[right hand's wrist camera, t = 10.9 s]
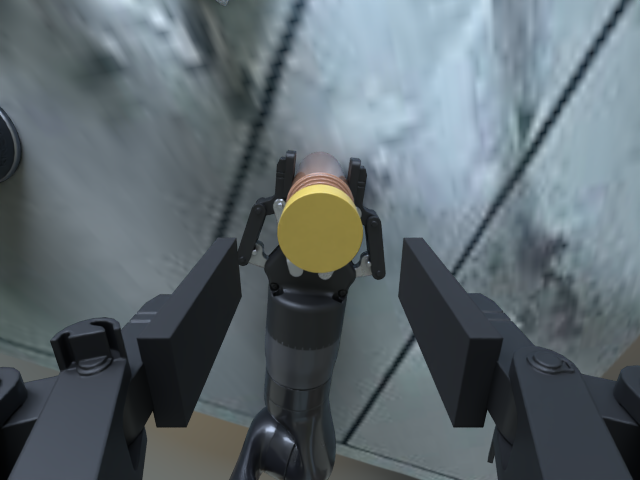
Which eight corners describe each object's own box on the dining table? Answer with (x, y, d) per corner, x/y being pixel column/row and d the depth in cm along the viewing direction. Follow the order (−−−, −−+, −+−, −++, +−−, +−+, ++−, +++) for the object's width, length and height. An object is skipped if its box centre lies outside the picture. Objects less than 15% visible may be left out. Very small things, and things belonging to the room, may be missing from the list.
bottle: (352, 175, 35) (381, 232, 18) (319, 206, 36) (319, 286, 20) (320, 141, 34) (320, 170, 17) (287, 174, 35) (258, 231, 18)
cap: (374, 223, 20) (380, 235, 18) (319, 271, 21) (319, 288, 19) (320, 167, 19) (320, 173, 17) (265, 221, 20) (259, 233, 18)
